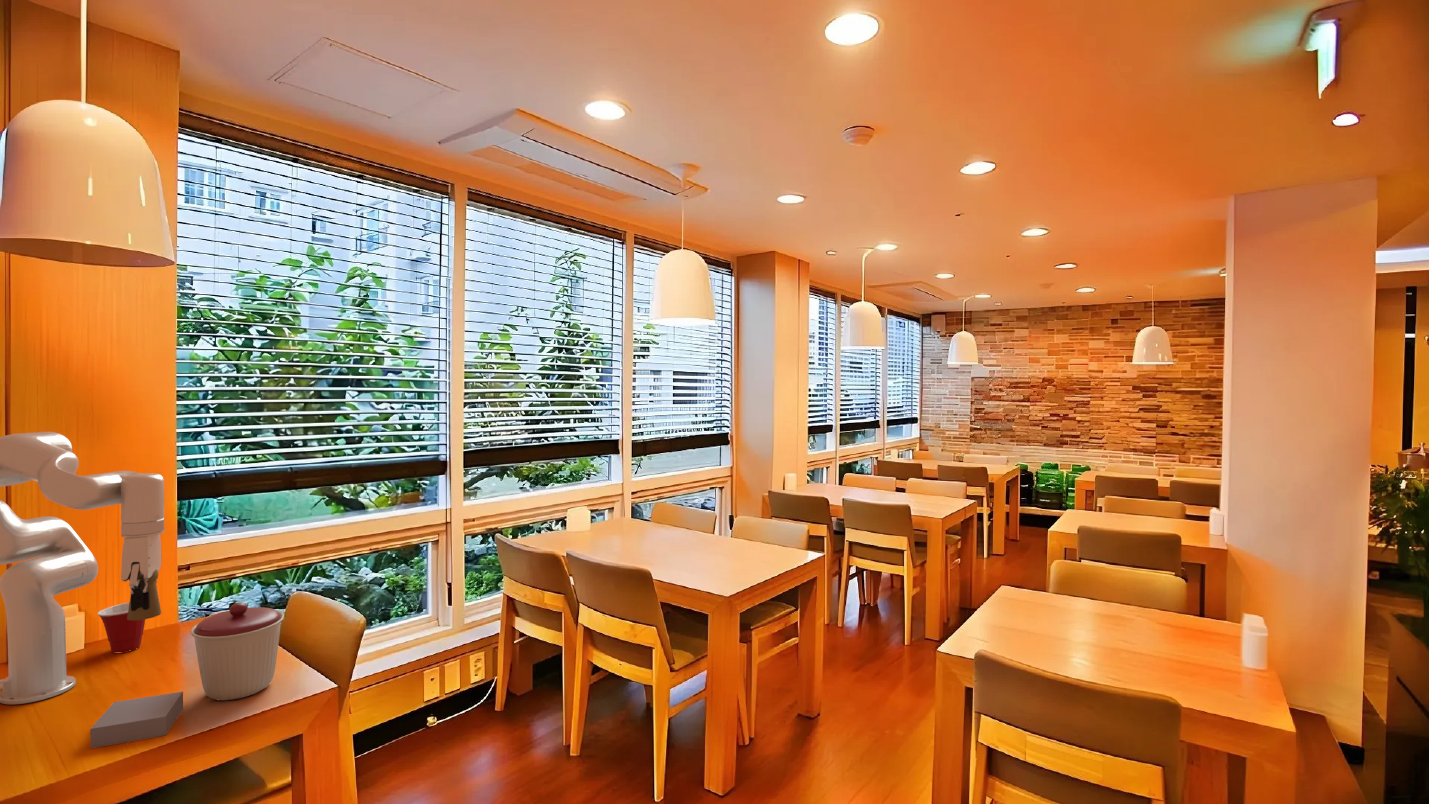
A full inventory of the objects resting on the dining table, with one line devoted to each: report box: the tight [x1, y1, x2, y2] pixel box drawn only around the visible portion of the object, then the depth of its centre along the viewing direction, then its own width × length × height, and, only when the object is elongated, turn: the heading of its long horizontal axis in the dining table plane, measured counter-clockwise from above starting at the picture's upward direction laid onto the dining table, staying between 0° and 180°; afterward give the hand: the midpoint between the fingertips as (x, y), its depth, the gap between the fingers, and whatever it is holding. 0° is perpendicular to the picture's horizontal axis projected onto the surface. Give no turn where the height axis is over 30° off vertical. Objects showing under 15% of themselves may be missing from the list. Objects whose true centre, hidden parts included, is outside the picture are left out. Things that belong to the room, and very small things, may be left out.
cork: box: [127, 569, 162, 620], centre depth 152 cm, size 6×6×11 cm
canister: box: [190, 602, 285, 701], centre depth 158 cm, size 18×18×21 cm
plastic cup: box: [97, 601, 146, 653], centre depth 180 cm, size 11×11×12 cm
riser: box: [90, 691, 184, 749], centre depth 141 cm, size 12×12×4 cm
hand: (144, 605), depth 153 cm, fingers closed on cork, 4 cm apart
